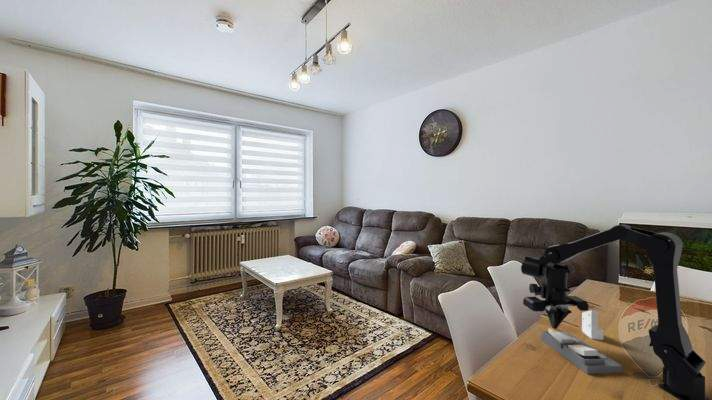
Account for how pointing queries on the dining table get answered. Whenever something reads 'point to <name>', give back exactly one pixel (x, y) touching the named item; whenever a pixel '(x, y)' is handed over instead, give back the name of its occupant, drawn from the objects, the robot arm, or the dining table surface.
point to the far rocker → (560, 335)
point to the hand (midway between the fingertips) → (554, 328)
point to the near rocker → (583, 350)
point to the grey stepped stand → (583, 362)
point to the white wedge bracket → (591, 325)
